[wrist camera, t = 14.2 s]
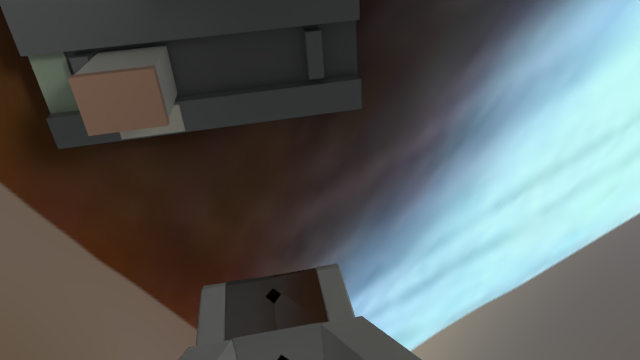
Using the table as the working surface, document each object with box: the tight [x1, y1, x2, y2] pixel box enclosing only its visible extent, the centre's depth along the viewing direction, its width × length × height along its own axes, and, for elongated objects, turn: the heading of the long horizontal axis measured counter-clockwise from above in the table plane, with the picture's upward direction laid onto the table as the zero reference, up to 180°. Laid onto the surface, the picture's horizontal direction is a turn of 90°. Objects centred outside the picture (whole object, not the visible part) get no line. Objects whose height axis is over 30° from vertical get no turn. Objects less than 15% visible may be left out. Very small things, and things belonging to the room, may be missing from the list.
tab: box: [68, 45, 177, 136], centre depth 25 cm, size 4×3×6 cm
